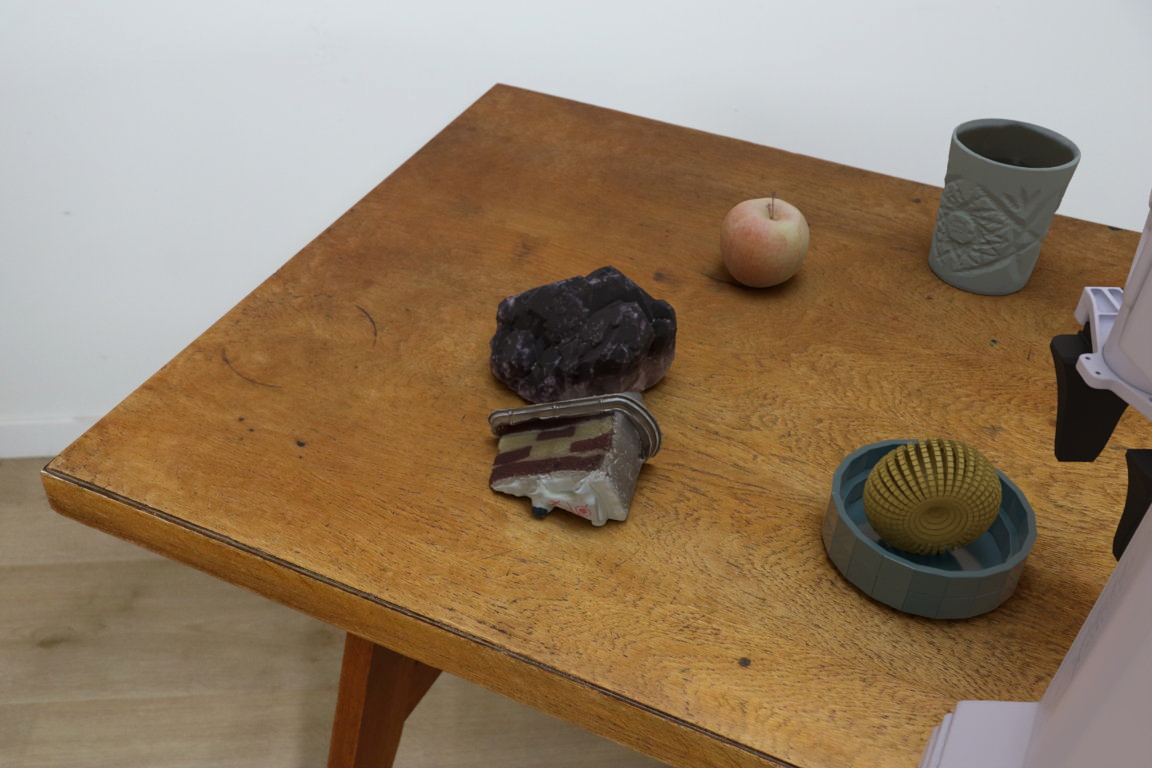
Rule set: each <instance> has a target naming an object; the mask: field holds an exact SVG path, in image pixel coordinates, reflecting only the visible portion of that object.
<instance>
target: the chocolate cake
mask: <svg viewBox="0 0 1152 768" xmlns="http://www.w3.org/2000/svg"><path fill="white" fill-rule="evenodd" d="M643 397H644V395H643V393H641V392H631V393H630V392H629V391H625V392H621V393H616V394H610V395H607V394H605V395H602V396H600V395H599V396H596V395H594V396H588V397H581V398H575V399H569V400H564V401H557V402H553V403H544V404H541V403H540V404H536V403H534V404H529V405H527V406H523V407H516V408H514V406H508V407H505V408H494V410H493V411H491V412H489V414H488V416H486V419H487V423H488V424H489V425H490V431H491V433H492V435H493V436H494V437H495V438H496V439H498V441H499V442H498V444H497V449H498V453H497V455H496V456H495V457H494V459H493V463H492V466H491V469H492V470H491V473H490V476H489V479H488V485H489V487H490V488H492V489H493V490H494V491H496V492H503V493H504V494H507V495H508V494H509V495H513V496H515V497H528V498H530V499H531V507H532V508H531V513H532V514H533V515H534V516H535V517H536V518H543V517H545V516H546V515H547V514H549V513H550V512H551V511H552V510H553V509H554V508H555V507H557V508H560V509H563V510H566V511H567V512H571V513H572V514H575V515H576V516H580V517H582V518H584V519H587V520H590V521H591V524H592V525H593V526H594V527H602V526H604V525H606V523H607V521H608V520H610V519H611V520H613V521H614V520H615V521H621V522H623V521H626V520H627V518H628V516H629V513H630V507H631V501H632V499H633V497H634V493H635V489H636V486H637V480H638V477H639V475H640V472H641V469H642V466H643V464H645V463H646V462H648V460H649V459H653V458H655V457H656V456H657V455H658V454H659V453H660V452H661V451H662V446H663V439H664V438H663V436H664V433H663V431H662V430H661V427H660V423H659V420H658V419H657V418H656V416H654V414H653V413H652V411H649V410H648V408H647V407H646V406H645V404H644V403H645V399H644V398H643Z"/></svg>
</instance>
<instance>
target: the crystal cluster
mask: <svg viewBox="0 0 1152 768" xmlns="http://www.w3.org/2000/svg"><path fill="white" fill-rule="evenodd" d="M676 314H677V313H676V310H675V308H674V307H673V306H672V305H671V304H670V303H669V302H668V301H667V300H665V299H656V298H654V297H653V296H651V294H649V293H648V292H647V291H646V290H645V289H643V288H642V287H641V286H639V285H638V284H637V283H635V282H634V281H633V280H632V279H630V278H629V277H628V276H626V275H625V274H624V273H622V271H620V270H619V269H617V268H616V267H614V266H612V265H611V264H609V265H605V266H603V267H599V268H596V269H595V270H592V271H591V272H590V273H589V274H587V275H586V276H583V275H581V274H579V275H576V276H572V277H569V278H565V279H562V280H559V281H555V282H551V283H547V284H543V285H540V286H537V287H534V288H531V289H527V290H525V291H521V292H520V293H517V294H515V295H510V296H507V297H505V298H504V299H502V301H500V302H499V303H498V304H497V311H496V316H495V322H496V329H495V333H494V334H493V336H492V337H491V339H490V342H489V348H490V356H489V369H490V370H491V371H492V373H493V375H494V376H495V377H496V379H498V380H500V381H501V382H502V383H503V384H505V385H507V387H508V388H510V389H511V390H513V391H515V392H517V394H518V395H519V396H520V397H521V398H523V399H525V400H527V401H529V402H531V403H534V404H540V403H541V404H544V403H553V402H557V401H564V400H569V399H575V398H581V397H588V396H594V395H596V396H599V395H600V396H602V395H605V394H607V395H610V394H616V393H621V392H625V391H629V392H630V393H631V392H640V393H641V392H643V391H644V390H646V389H649V388H652V387H653V386H655V385H656V384H658V383H659V381H661V380H662V378H664V376H665V375H666V374H667V372H668V371H669V370H670V368H671V366H672V364H673V362H674V361H675V356H676V346H677V345H676V343H677V339H676V338H677V332H678V322H677V315H676Z"/></svg>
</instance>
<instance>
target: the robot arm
mask: <svg viewBox="0 0 1152 768" xmlns="http://www.w3.org/2000/svg"><path fill="white" fill-rule="evenodd" d="M1148 207H1149V211H1148V213H1147V217H1146V220H1145V223H1144V226H1143V229H1142V231H1141V235H1140V238H1139V240H1138V244H1137V248H1136V250H1135V254H1134V256H1133V260H1132V263H1131V266H1130V269H1129V271H1128V275H1127V278H1126V281H1125V283H1124V287H1123V289H1122V287H1119V286H1085V287H1083V290H1082V293H1081V296H1080V298H1079V300H1078V303H1077V306H1076V309H1075V311H1074V313H1073V317H1074V319H1075V320H1076V321H1077V323H1078V324H1079V325H1080V326H1081V327H1082V329H1078V331H1077V333H1060V334H1057V335H1054V336H1053V337H1051V340H1050V343H1049V350H1050V353H1051V357H1052V361H1053V365H1054V370H1055V378H1056V393H1057V395H1056V397H1057V399H1056V400H1057V403H1056V418H1055V419H1056V420H1055V431H1054V443H1053V445H1054V446H1053V448H1054V449H1053V452H1054V453H1053V454H1054V457H1055V459H1056V461H1057V463H1094V462H1095V461H1096V460H1097V458H1098V457H1099V456H1100V455H1101V453H1102V452H1103V451H1104V449H1105V447H1106V446H1107V444H1108V442H1109V441H1110V439H1111V437H1112V435H1113V433H1114V431H1115V429H1116V427H1117V426H1118V424H1119V422H1120V420H1121V418H1122V416H1123V415H1124V413H1125V411H1126V410H1127V409H1128V407H1129V406H1130V407H1131V408H1133V409H1134V410H1135V411H1137V412H1138V413H1139V414H1141V415H1142V416H1143V417H1144V418H1146V419H1147V420H1148V421H1150V423H1152V188H1151V190H1150V194H1149V199H1148ZM1124 457H1125V462H1126V469H1127V489H1126V497H1125V503H1124V507H1123V510H1122V514H1121V516H1120V518H1119V521H1118V524H1117V527H1116V530H1115V533H1114V536H1113V541H1112V547H1111V554H1112V555H1113V557H1114V559H1115V561H1116V562H1117V564H1116V566H1115V567H1114V569H1113V571H1112V573H1111V574H1110V576H1109V578H1108V580H1107V582H1106V584H1105V585H1104V586H1103V589H1102V590H1101V592H1100V594H1099V596H1098V597H1097V600H1096V601H1095V603H1094V605H1093V607H1092V608H1091V610H1090V612H1089V614H1088V615H1087V617H1086V619H1085V621H1084V623H1083V624H1082V626H1081V628H1080V629H1079V631H1078V633H1077V635H1076V637H1075V638H1074V640H1073V642H1072V644H1071V645H1070V647H1069V649H1068V651H1067V653H1066V654H1065V656H1064V658H1063V660H1062V661H1061V663H1060V665H1059V667H1058V669H1057V670H1056V672H1055V674H1054V676H1053V678H1052V679H1051V681H1050V683H1049V685H1048V686H1047V688H1046V689H1045V692H1044V693H1043V695H1042V697H1041V698H1040V700H1039V701H1012V700H1011V701H1010V700H1008V701H1007V700H1006V701H1005V700H986V699H984V700H981V699H980V700H979V699H978V700H977V699H974V700H973V699H964V700H963V699H962V700H959V701H957V703H956V705H955V707H954V710H953V712H949V713H946V714H944V716H943V718H942V720H941V722H940V723H939V724H937V725H935V726H933V728H932V729H931V732H930V734H929V736H928V739H927V742H926V743H925V745H924V749H923V752H922V755H921V756H920V760H919V762H918V765H917V768H1152V448H1128V449H1126V451H1125V454H1124Z"/></svg>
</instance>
